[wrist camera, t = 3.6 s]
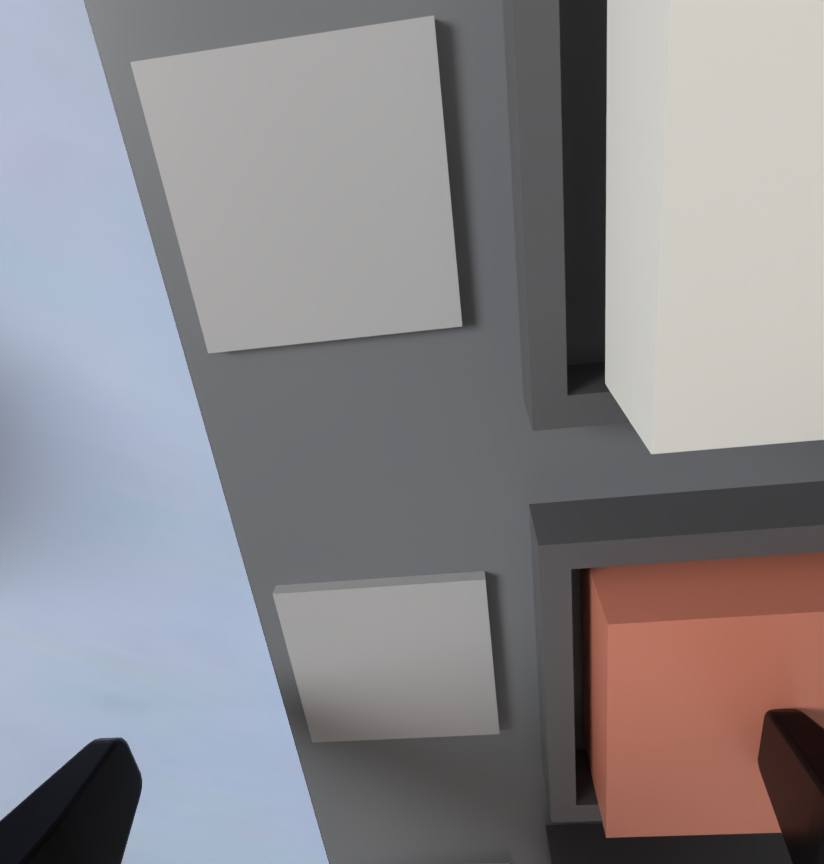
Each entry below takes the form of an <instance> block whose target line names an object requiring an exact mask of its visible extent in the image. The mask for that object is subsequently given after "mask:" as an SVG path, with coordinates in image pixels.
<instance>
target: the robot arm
mask: <svg viewBox="0 0 824 864" xmlns="http://www.w3.org/2000/svg"><path fill="white" fill-rule="evenodd" d="M758 766H759V770H760V773H761V776H762V779H763V782H764V785H765V787H766V790H767V793H768V796H769V799H770V801H771V804H772V807H773V810H774V813H775V816H776V818H777V821H778V824H779V827H780V830H781V832H782V835H783V838H784V841H785V844H786V846H787V849H788V852H789V855H790V858H791V861H792V863H793V864H824V728H823V727H821V726H820V725H819V724H818V723H816V722H815V721H814V720H813V719H811V718H810V717H809V716H808V715H806V714H805V713H804V712H802V711H800V710H797V709H777V710H769V711H767V712H766V714H765V716H764V721H763V728H762V734H761V741H760V747H759V754H758ZM141 789H142V777H141V773H140V771H139V768H138V766H137V764H136V761H135V759H134V757H133V755H132V752H131V750H130V748H129V746H128V743H127V742H126V741H125V740H124V739H123V738H100V739H96V740H93V741H92V742H90V743H89V744H88V745H86V746H85V747H84V748H83V749H82V750H81V751H80V752H78V753H77V754H76V755H75V756H74V757H73V758H72V759H70V760H69V761H68V762H67V763H66V764H65V765H64V766H62V767H61V768H60V769H59V770H58V771H57V772H56V773H54V774H53V775H52V776H51V777H50V778H49V779H48V780H46V781H45V782H44V783H43V784H42V785H41V786H40V787H38V788H37V789H36V790H35V791H34V792H33V793H32V794H30V795H29V796H28V797H27V798H26V799H25V800H24V801H22V802H21V803H20V804H19V805H18V806H17V807H16V808H14V809H13V810H12V811H11V812H10V813H9V814H8V815H6V816H5V817H4V818H3V819H2V820H1V821H0V864H121V862H122V859H123V855H124V851H125V848H126V844H127V841H128V837H129V834H130V830H131V827H132V823H133V820H134V816H135V812H136V809H137V805H138V802H139V798H140V795H141Z"/></svg>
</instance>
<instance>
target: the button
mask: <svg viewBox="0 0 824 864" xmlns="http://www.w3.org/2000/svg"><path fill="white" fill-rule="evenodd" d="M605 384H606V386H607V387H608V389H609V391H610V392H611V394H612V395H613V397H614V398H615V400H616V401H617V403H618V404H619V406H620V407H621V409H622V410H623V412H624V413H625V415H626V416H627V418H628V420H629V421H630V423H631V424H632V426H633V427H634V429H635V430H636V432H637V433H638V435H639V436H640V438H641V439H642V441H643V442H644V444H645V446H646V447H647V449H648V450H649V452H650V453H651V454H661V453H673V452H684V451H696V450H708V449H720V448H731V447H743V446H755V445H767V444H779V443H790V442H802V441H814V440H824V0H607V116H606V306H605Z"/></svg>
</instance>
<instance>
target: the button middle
mask: <svg viewBox="0 0 824 864" xmlns="http://www.w3.org/2000/svg"><path fill="white" fill-rule="evenodd" d="M582 618H583V697H584V744H585V749H586V753H587V757H588V762H589V766H590V770H591V775H592V779H593V783H594V788H595V792H596V796H597V801H598V805H599V809H600V814H601V818H602V822H603V827H604V831H605V835H606V838H615V837H649V836H683V835H718V834H752V833H782V832H781V830H780V827H779V824H778V821H777V818H776V816H775V813H774V810H773V807H772V804H771V801H770V799H769V796H768V793H767V790H766V787H765V785H764V782H763V779H762V776H761V773H760V770H759V766H758V754H759V747H760V741H761V734H762V728H763V721H764V716H765V714H766V712H767V711H769V710H777V709H797V710H800V711H802V712H804V713H805V714H806V715H808V716H809V717H810V718H811V719H813V720H814V721H815V722H816V723H818V724H819V725H820V726H821V727H823V728H824V552H814V553H799V554H785V555H770V556H756V557H741V558H727V559H712V560H698V561H683V562H669V563H654V564H640V565H625V566H611V567H596V568H582Z"/></svg>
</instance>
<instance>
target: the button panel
mask: <svg viewBox="0 0 824 864" xmlns="http://www.w3.org/2000/svg"><path fill="white" fill-rule="evenodd" d="M84 3H85V6H86V10H87V13H88V17H89V20H90V24H91V27H92V31H93V34H94V38H95V41H96V45H97V48H98V52H99V56H100V59H101V63H102V66H103V70H104V73H105V77H106V80H107V84H108V87H109V91H110V94H111V98H112V101H113V105H114V108H115V112H116V115H117V119H118V122H119V126H120V129H121V133H122V136H123V140H124V143H125V147H126V151H127V154H128V158H129V161H130V165H131V168H132V172H133V175H134V179H135V182H136V186H137V189H138V193H139V196H140V200H141V203H142V207H143V210H144V214H145V217H146V221H147V224H148V228H149V231H150V235H151V238H152V242H153V246H154V249H155V253H156V256H157V260H158V263H159V267H160V270H161V274H162V277H163V281H164V284H165V288H166V291H167V295H168V298H169V302H170V305H171V309H172V312H173V316H174V319H175V323H176V326H177V330H178V334H179V337H180V341H181V344H182V348H183V351H184V355H185V358H186V362H187V365H188V369H189V372H190V376H191V379H192V383H193V386H194V390H195V393H196V397H197V400H198V404H199V407H200V411H201V414H202V418H203V421H204V425H205V429H206V432H207V436H208V439H209V443H210V446H211V450H212V453H213V457H214V460H215V464H216V467H217V471H218V474H219V478H220V481H221V485H222V488H223V492H224V495H225V499H226V502H227V506H228V509H229V513H230V516H231V520H232V524H233V527H234V531H235V534H236V538H237V541H238V545H239V548H240V552H241V555H242V559H243V562H244V566H245V569H246V573H247V576H248V580H249V583H250V587H251V590H252V594H253V597H254V601H255V604H256V608H257V612H258V615H259V619H260V622H261V626H262V629H263V633H264V636H265V640H266V643H267V647H268V650H269V654H270V657H271V661H272V664H273V668H274V671H275V675H276V678H277V682H278V685H279V689H280V692H281V696H282V699H283V703H284V707H285V710H286V714H287V717H288V721H289V724H290V728H291V731H292V735H293V738H294V742H295V745H296V749H297V752H298V756H299V759H300V763H301V766H302V770H303V773H304V777H305V780H306V784H307V787H308V791H309V794H310V798H311V802H312V805H313V809H314V812H315V816H316V819H317V823H318V826H319V830H320V833H321V837H322V840H323V844H324V847H325V851H326V854H327V858H328V861H329V864H793V863H792V861H791V858H790V855H789V852H788V849H787V846H786V844H785V841H784V838H783V835H782V833H752V834H718V835H683V836H649V837H615V838H606V835H605V831H604V827H603V822H602V818H601V814H600V809H599V805H598V801H597V796H596V792H595V788H594V783H593V779H592V775H591V770H590V766H589V762H588V757H587V753H586V749H585V744H584V697H583V618H582V568H596V567H611V566H625V565H640V564H654V563H669V562H683V561H698V560H712V559H727V558H741V557H756V556H770V555H785V554H799V553H814V552H824V440H814V441H802V442H790V443H779V444H767V445H755V446H743V447H731V448H720V449H708V450H696V451H684V452H673V453H661V454H651V453H650V452H649V450H648V449H647V447H646V446H645V444H644V442H643V441H642V439H641V438H640V436H639V435H638V433H637V432H636V430H635V429H634V427H633V426H632V424H631V423H630V421H629V420H628V418H627V416H626V415H625V413H624V412H623V410H622V409H621V407H620V406H619V404H618V403H617V401H616V400H615V398H614V397H613V395H612V394H611V392H610V391H609V389H608V387H607V386H606V384H605V306H606V116H607V0H84Z"/></svg>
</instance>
